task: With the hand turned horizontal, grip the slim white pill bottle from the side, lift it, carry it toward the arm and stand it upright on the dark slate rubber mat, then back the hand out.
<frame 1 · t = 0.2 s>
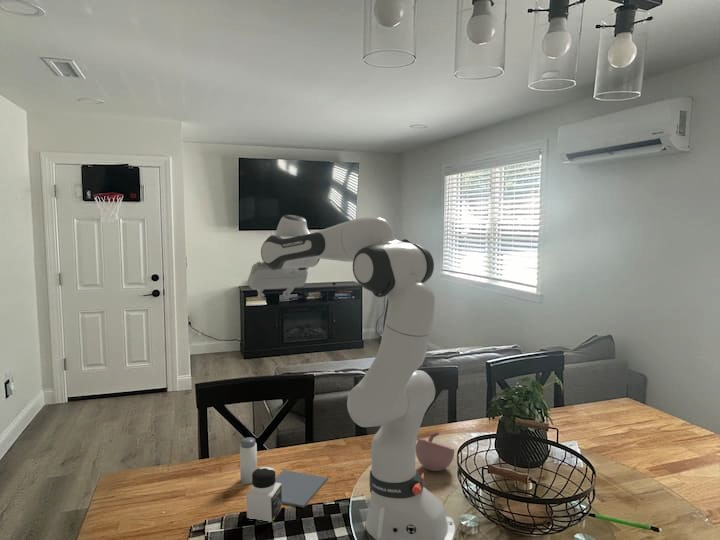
hand: (273, 297, 160), 54 cm above the table, tool tilted 25°, fingers open, 8 cm apart
white pill bottle: (249, 480, 145), on the table
slate mat: (293, 488, 140), on the table
medicine bottle: (264, 514, 127), on the table
mortar and pestle: (434, 469, 151), on the table
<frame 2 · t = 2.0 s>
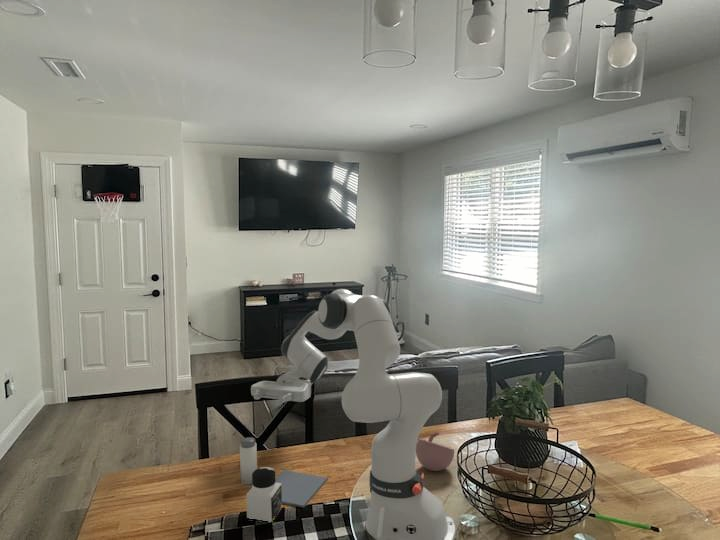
hand: (268, 398, 155), 21 cm above the table, tool horizontal, fingers open, 8 cm apart
nothing on the table moved.
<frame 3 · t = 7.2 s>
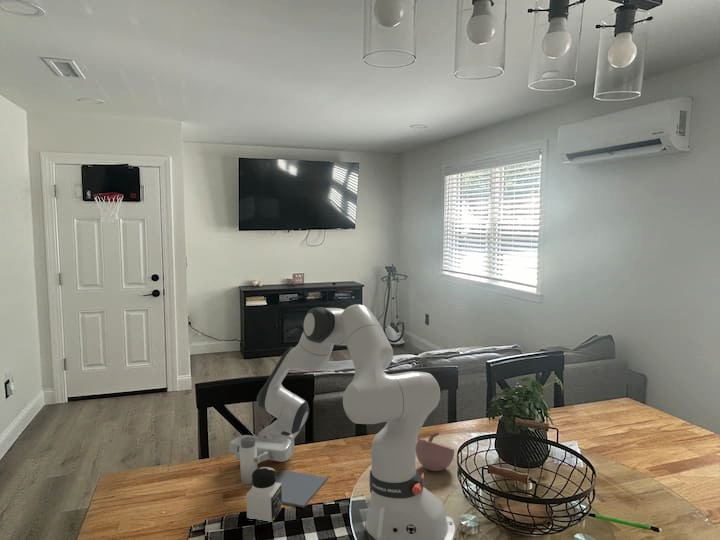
hand: (247, 459, 144), 7 cm above the table, tool horizontal, fingers closed on white pill bottle, 5 cm apart
white pill bottle: (249, 480, 145), on the table, touching gripper
everything else where it was.
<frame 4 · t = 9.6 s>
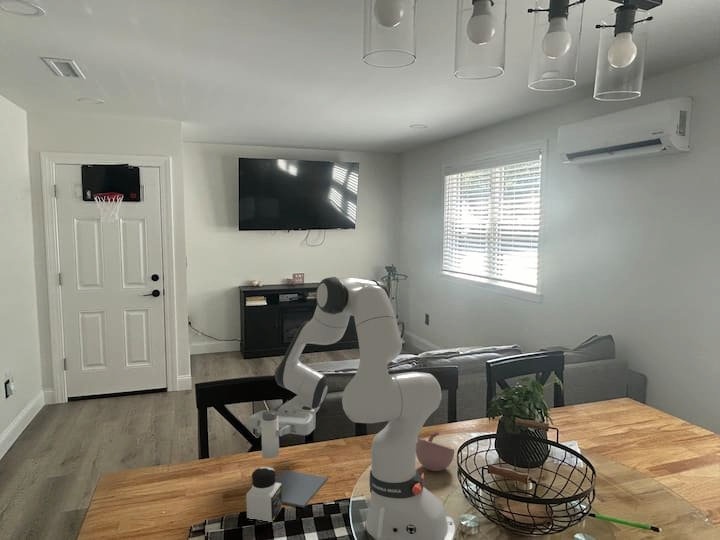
hand: (268, 432, 140), 17 cm above the table, tool horizontal, fingers closed on white pill bottle, 5 cm apart
white pill bottle: (270, 454, 141), point 10 cm above the table, touching gripper
everything else where it was.
when the fingers open (9 cm above the table, at t = 12.2 s): white pill bottle drops 1 cm, resting on slate mat.
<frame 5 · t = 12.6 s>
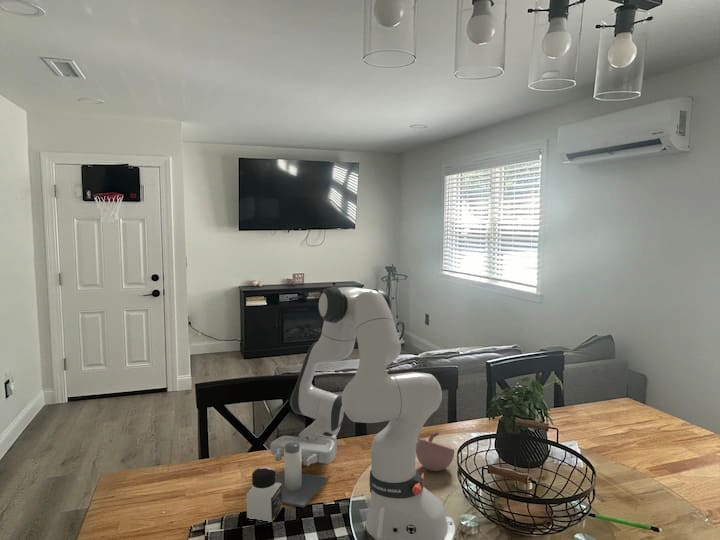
hand: (290, 460, 139), 9 cm above the table, tool horizontal, fingers open, 8 cm apart
white pill bottle: (293, 486, 140), point 1 cm above the table, touching slate mat
everything else where it was.
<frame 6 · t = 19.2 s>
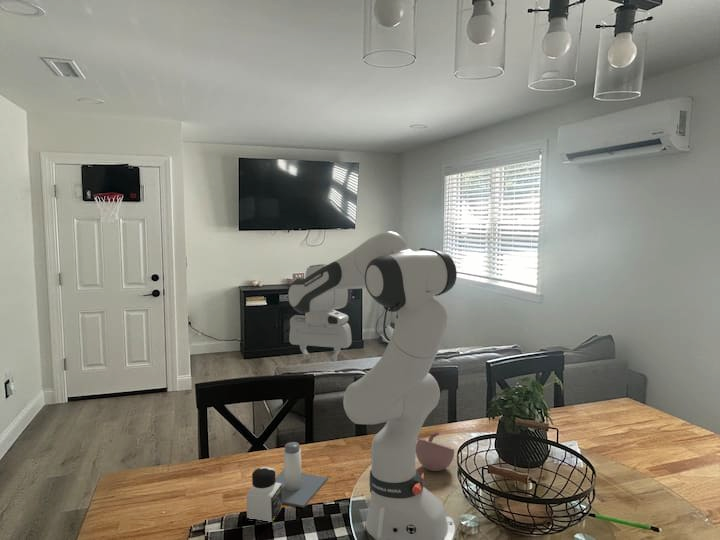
hand: (320, 359, 150), 35 cm above the table, tool pointing down, fingers open, 8 cm apart
nothing on the table moved.
at the end: white pill bottle inside the target area on the slate mat (0.1 cm from its centre), point 0.6 cm above the slate mat's base; white pill bottle tilted 1°; the gripper is holding nothing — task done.
